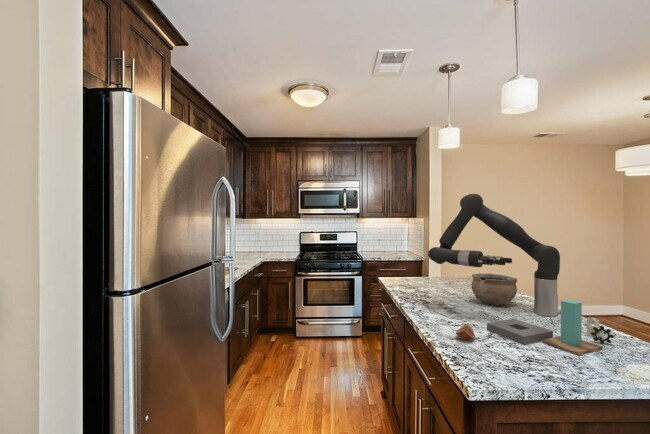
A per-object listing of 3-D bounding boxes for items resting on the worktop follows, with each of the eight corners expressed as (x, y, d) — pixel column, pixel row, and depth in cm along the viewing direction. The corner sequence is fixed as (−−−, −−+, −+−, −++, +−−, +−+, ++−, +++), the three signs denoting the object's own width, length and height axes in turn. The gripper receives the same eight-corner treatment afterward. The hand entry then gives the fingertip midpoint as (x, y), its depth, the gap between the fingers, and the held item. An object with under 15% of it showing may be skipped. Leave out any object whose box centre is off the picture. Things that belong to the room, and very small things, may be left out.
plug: (567, 340, 118) (567, 299, 118) (581, 344, 114) (581, 302, 114) (560, 341, 116) (560, 300, 116) (574, 346, 112) (574, 303, 112)
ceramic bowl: (462, 299, 179) (462, 273, 179) (493, 297, 186) (493, 271, 186) (494, 310, 158) (494, 280, 158) (527, 307, 164) (527, 278, 164)
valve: (580, 332, 129) (591, 342, 118) (581, 316, 129) (591, 325, 118) (601, 334, 126) (614, 345, 115) (601, 318, 126) (614, 327, 115)
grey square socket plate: (513, 325, 136) (513, 318, 136) (552, 338, 121) (552, 330, 121) (486, 330, 130) (486, 323, 130) (524, 344, 115) (524, 336, 115)
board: (565, 337, 123) (565, 334, 123) (602, 349, 112) (602, 346, 112) (541, 342, 117) (541, 340, 117) (577, 355, 106) (577, 352, 106)
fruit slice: (472, 345, 115) (473, 331, 115) (453, 341, 119) (453, 327, 119) (476, 338, 122) (476, 325, 122) (458, 334, 126) (458, 321, 126)
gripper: (463, 251, 144) (502, 254, 132) (476, 249, 154) (513, 251, 142) (464, 268, 144) (502, 272, 132) (476, 264, 154) (514, 268, 142)
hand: (508, 261), depth 137 cm, fingers open, 8 cm apart
